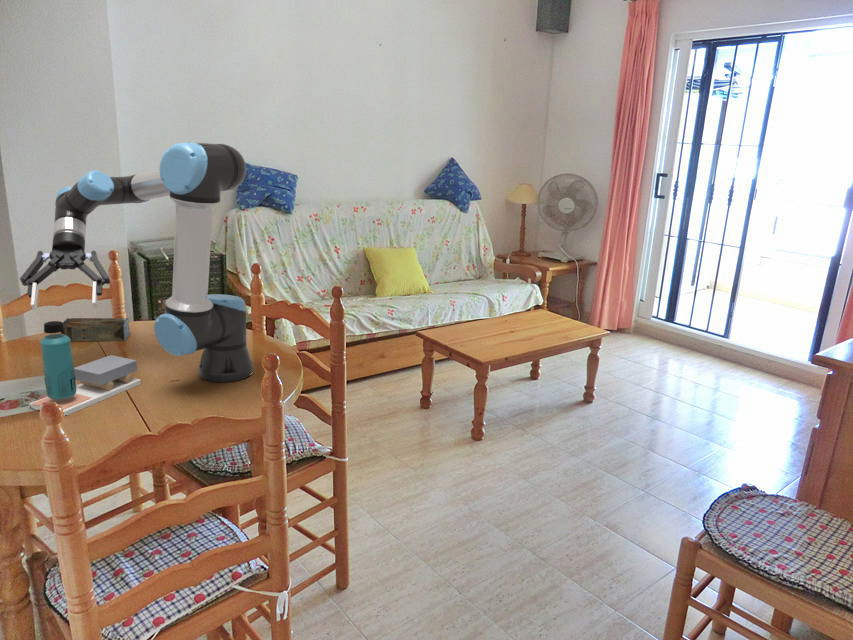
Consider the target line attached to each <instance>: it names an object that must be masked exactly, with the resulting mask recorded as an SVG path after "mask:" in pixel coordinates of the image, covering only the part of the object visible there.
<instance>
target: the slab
mask: <svg viewBox="0 0 853 640" xmlns="http://www.w3.org/2000/svg"><path fill="white" fill-rule="evenodd" d="M74 368H75V369H74V373H75V378H76V379H75V381H83V382H87V383H92V384H96V385H103V384H105V383H108V382H111V381H113V380H116V379H118V378H121V377H123V376H126V375H128V374H131V375H132V374H134V373H135V372H137V371H138V365H137V360H135V359H130V358H126V357H122V356H117V355H113V354H110V355H107V356H104V357H101V358H99V359H95V360H93V361H91V362H87V363H84V364H82V365H78V366H76V367H75V366H74Z"/></svg>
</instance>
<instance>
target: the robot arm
mask: <svg viewBox="0 0 853 640" xmlns="http://www.w3.org/2000/svg"><path fill="white" fill-rule="evenodd" d="M246 174H247V165H246V161H245V158H244V157H243V155H242V154H241V153H240V151H239V150H237V149H236V148H234V147H233V146H231V145H228V144H224V143H205V142H204V143H203V142H190V141H187V142H180V143H179V142H178V143H175V144H172V145H171V146H170V147H169V148H168V149H166V150H165V151H164V153H163V155H162V157H161V160H160V164H159V168H158V169H154V170H149V171H145V172H141V173H136V174H132V175H127V176H109V175H108V174H107V173H105V172H101V171H100V170H96V169H95V170H89V171H88V172H87V173H86V174H85V175H84V174H83V176H81V178H79V179H78V180H77V182H75V184H74V185H73V186H65V188H63V187H62V188H60V189H59V190H58V191H57V194H56V198H55V202H54V203H55V209H54V223H53V224H54V226H53V233H52V234H53V237H52V244H51V245H52V246H51V252H49V253H46V252H45V253H44V252H43V251H42V250H38V251H37V254H36V257H35V259H34V260H33V261H32V262H31V263H30V265H29V266H28V267H27V269H26V270H25V272H24V273H22V275H21V276H20V278H19V281H20V282H21V285H22V286H24V287H27V296H28V297H29V298H30V306H31V308H32V311H37V310H38V302H39V301H38V300H39V293H40V292H39V289H40V288H39V286H38V285H39V284H41V283H42V282H43V281H44V280H46V279H47V278H48V277H50V275H52V274H53V273H54V272H57V271H58V270H59V269H61V270H75V269H79V271H81V272H82V273H84V274H85V275H86V276H87V277H88V278H89V279H91V281H92V295H91V296H92V297H91V298H92V299H91V300H92V301H91V304H92V307H93V309H97V308H98V297H100V296H102V295H103V287H104V285H109V284H111V280H110V276H109V274H108V273H107V271H106V270H105V268H104V266H103V265H102V264H101V261H100V260H99V259H98V258H99V257H98V253H97V251H96V250H92V251H90V252H88V253H87V252H86V253H85V250H86V249H85V248H86V235H87V234H86V232H87V231H86V229H87V217H88V216H89V215H90V214H91V213H92V212H93V211H95V209H97V208H98V207H100V206H109V205H110V206H112V205H120V204H125V205H126V204H141V203H146V202H149V201H150V200H153V199H159V198H164V197H168V196H169V198H170V199H171V201H173V202H174V204H175V219H174V220H175V221H174V222H175V223H174V224H175V225H174V243H173V266H172V267H173V268H172V272H173V273H172V287H171V288H172V289H171V290H172V293H171V296H170V297H169V298H167V299H166V300H165V305H164V313H162V314H160V315H159V316H158V317H157V318H156V319H155V321H154V326H153V328H154V335H155V337H156V340H157V342H158V343H159V344H160V346H161V348H162V349H164V350H165V352H167V353H169V354H170V355H172V356H176V357H183V356H185V355H186V356H187V355H192V354H194V353H196V352H198V351H201V350H203V352H202V355H201V358H200V362H199V365H198V376H199V377H200V378H201V379H203V380H205V381H209V382H213V383H228V382H236V381H240V379H241V380H244V379H243V378H245V377H247V376H249V375H250V374H251V373H252V372H253V373H254V363H253V361H252V358H251V355H250V353H249V349H248V347H247V309H246V302H245V301H246V300H244V299H243V298H242V297H240V296H237V295H231V294H219V293H217V294H216V293H212V294H210V293H209V278H210V264H211V263H210V262H211V261H210V259H211V247H212V234H213V233H212V232H213V231H212V229H213V216H214V208H216V207H217V206H218V205H219V204H221V194H222V193H221V192H224V191H225V192H226V191H231V190H234V189H236V188H237V187H239V186H241V184H242V183H243V182H244V180H245V178H246ZM86 259H88V260H89V261H90V262H91V263H93V265H94V267H95V269H96V271H98V273H99V275H100V276H99V275H98V274H97V273H96V272H94V270H92V268H90V267H89V266H88V265H87V264H86V263H85V261H86ZM48 260H49V261H48ZM47 261H48V263H47ZM44 263H46V265H45V266H44ZM43 266H44V267H43ZM249 377H250V376H249ZM247 378H248V377H247ZM245 379H246V378H245Z"/></svg>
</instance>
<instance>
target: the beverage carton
mask: <svg viewBox="0 0 853 640" xmlns="http://www.w3.org/2000/svg"><path fill="white" fill-rule="evenodd" d="M62 323H63V327H64V331H62V332H60V334H64V335H66V336H67V337H69V338H70V340H71V341H70V343H82V342H83V343H84V342H86V343H88V342H89V343H91V342H126V340H127V339H128V337H129V336H130V333H131V332H130V329H131V328H130V319H129V318H126V317H120V318H111V317H110V318H109V317H105V318H102V317H95V318H94V317H90V318H87V317H86V318H85V317H84V318H83V317H75V318H74V317H72V318H71V317H70V318H68V317H67V318H65V320H64V321H63V322H62Z"/></svg>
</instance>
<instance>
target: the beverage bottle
mask: <svg viewBox="0 0 853 640" xmlns="http://www.w3.org/2000/svg"><path fill="white" fill-rule="evenodd" d="M62 331H64V327H63V322H62V321H59V320H54V321H53V320H51V321H47V322H45V323H44V324H43V332H44V333H45V334H47V335H45V336H44V337H43V338H42V339H41V341H40V349H41V356H42V364H43V365H42V368H43V373H44V374H43V376H44V382H45V383H44V384H45V392H46V395H47V397H49V398H51V399H65V398H69V397H72V396H74V395H75V394H76V389H77V388H76V387H77V382H76V381H77V380H75V379H76V378H75V373H74V369H75V365H74V358H73V351H72V342H70V341H71V340H70V338H69V337H67V336H66V335H64V334H61V332H62Z"/></svg>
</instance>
